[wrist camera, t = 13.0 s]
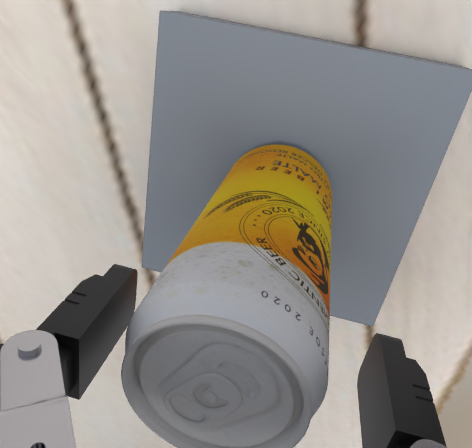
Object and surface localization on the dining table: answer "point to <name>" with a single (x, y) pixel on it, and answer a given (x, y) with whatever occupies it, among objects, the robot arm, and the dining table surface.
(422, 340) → the dining table surface
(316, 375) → the beer can
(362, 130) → the stand
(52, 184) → the dining table surface
